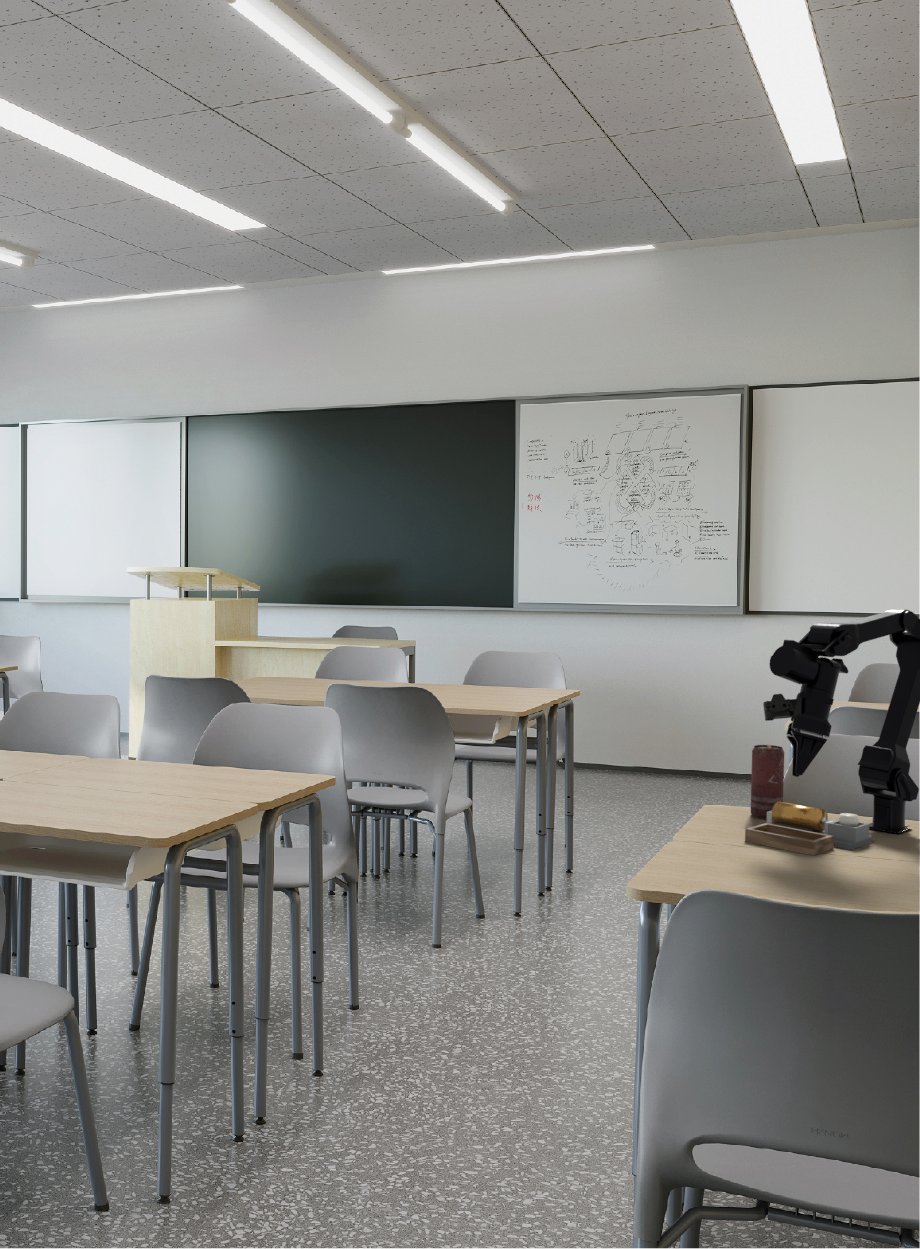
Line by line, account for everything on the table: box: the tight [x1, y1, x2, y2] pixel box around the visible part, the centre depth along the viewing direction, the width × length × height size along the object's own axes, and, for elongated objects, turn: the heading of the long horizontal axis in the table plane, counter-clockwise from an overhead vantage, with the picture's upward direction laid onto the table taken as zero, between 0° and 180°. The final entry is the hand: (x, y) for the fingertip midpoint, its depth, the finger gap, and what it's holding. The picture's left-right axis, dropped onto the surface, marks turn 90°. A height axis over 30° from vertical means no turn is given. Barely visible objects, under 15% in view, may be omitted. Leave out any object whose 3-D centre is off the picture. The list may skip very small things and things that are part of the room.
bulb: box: [838, 812, 860, 827], centre depth 184 cm, size 3×3×2 cm
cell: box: [772, 801, 829, 831], centre depth 191 cm, size 4×10×4 cm, turn 44°
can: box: [750, 744, 785, 820], centre depth 205 cm, size 6×6×14 cm
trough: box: [744, 822, 834, 856], centre depth 182 cm, size 7×13×2 cm, turn 44°
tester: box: [766, 810, 875, 851], centre depth 189 cm, size 9×18×4 cm, turn 44°
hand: (796, 775), depth 184 cm, fingers open, 9 cm apart
